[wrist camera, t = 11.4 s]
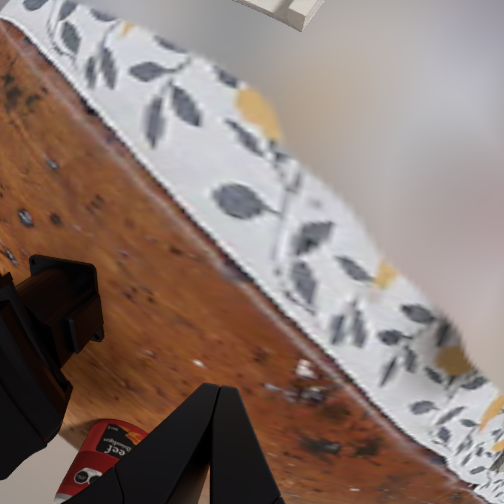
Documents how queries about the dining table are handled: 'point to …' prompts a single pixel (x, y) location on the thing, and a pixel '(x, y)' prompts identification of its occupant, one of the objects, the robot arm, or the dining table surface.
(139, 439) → the canned food
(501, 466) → the adjustable wrench
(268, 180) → the dining table surface
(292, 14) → the gauge track
